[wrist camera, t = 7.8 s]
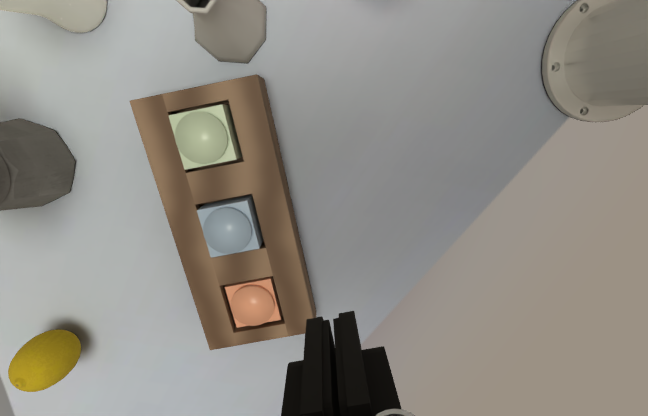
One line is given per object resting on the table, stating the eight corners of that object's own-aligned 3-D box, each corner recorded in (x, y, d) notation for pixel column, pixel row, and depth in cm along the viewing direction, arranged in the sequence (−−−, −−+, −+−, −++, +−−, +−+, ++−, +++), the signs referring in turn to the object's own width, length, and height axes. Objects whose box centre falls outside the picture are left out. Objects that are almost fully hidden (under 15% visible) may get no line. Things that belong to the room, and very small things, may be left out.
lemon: (47, 314, 42) (-16, 360, 34) (94, 318, 42) (42, 364, 34) (51, 354, 43) (-8, 406, 35) (96, 357, 43) (48, 410, 35)
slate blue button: (252, 194, 36) (245, 202, 33) (263, 240, 37) (258, 250, 34) (205, 204, 36) (194, 212, 33) (218, 248, 37) (208, 260, 34)
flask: (254, 76, 35) (228, 60, 25) (184, 46, 34) (131, 19, 25) (278, 2, 33) (261, -45, 24) (206, -31, 33) (158, -93, 23)
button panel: (263, 79, 35) (257, 74, 31) (316, 311, 42) (315, 331, 38) (150, 102, 36) (129, 100, 32) (220, 328, 42) (210, 350, 38)
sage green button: (229, 105, 33) (220, 104, 30) (242, 156, 34) (234, 160, 32) (179, 115, 33) (165, 115, 30) (194, 166, 35) (181, 170, 32)
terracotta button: (273, 268, 39) (269, 281, 36) (283, 307, 40) (280, 323, 37) (230, 276, 39) (223, 290, 36) (241, 315, 40) (235, 330, 37)
